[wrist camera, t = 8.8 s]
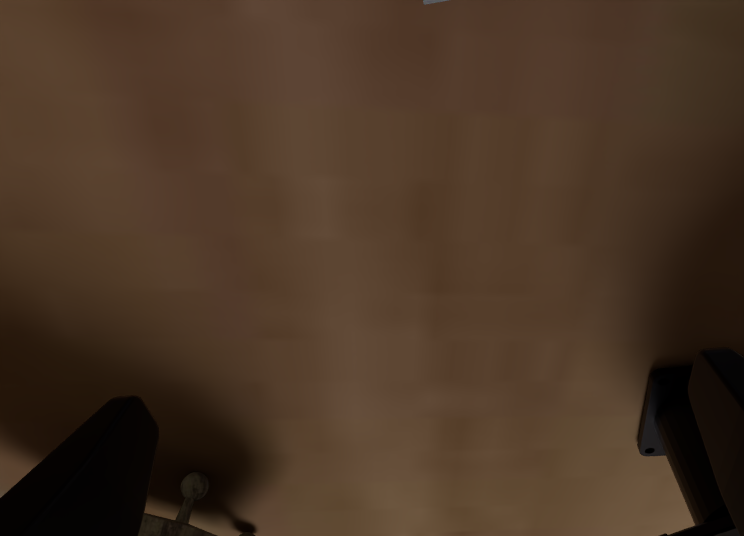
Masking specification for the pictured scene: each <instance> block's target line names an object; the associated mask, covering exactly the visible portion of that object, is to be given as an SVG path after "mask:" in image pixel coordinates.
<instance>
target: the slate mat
mask: <svg viewBox="0 0 744 536" xmlns="http://www.w3.org/2000/svg"><path fill="white" fill-rule="evenodd" d="M442 1H447V0H424V5H425V4H430V3H436V2H442Z"/></svg>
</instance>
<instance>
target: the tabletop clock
mask: <svg viewBox="0 0 744 536" xmlns="http://www.w3.org/2000/svg"><path fill="white" fill-rule="evenodd" d="M208 489H209V481H208V479H207V477H206V476H205V475H204V474H202V473H200V472H193V473H190V474H188V475H187V476H186V477H185V478H184V479H183V481H182V483H181V493H182V494H183V496H184V497H185V500H184V503H183V505H182V507H181V509H180V511H179V513H178V515H177V518H176V520H171V519H167V518H163V517H159V516H155V515H151V514H146V513H144V515H143V520H142V524H141V527H140V531H139V535H138V536H217V535H214V534H212V533H209V532H207V531H204V530H202V529H199V528H197V527H194V526H192V525H190V524H188V523H189V519H190V515H191V511H192V507H193V503H194V501H196V500H199V499H201V498H203V497H204V496H205V495H206V493H207V491H208ZM239 536H255V535H254V534H252V533H249V532H245V533H242V534H240V535H239Z"/></svg>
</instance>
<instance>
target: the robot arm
mask: <svg viewBox="0 0 744 536" xmlns="http://www.w3.org/2000/svg"><path fill="white" fill-rule="evenodd" d="M158 439H159V428H158V425H157V422H156V421H155V419H154V418H153V416H152V415H151V413H150V411H149V410H148V408H147V407H146V405H145V404H144V402H143V401H142V399H141V398H140V397H138V396H136V395H130V396H118V397H114V398H112V399H111V400H109V401H108V402H107V403H106V404H105V405H104V406H103V407H101V408H100V409H99V410H98V411H97V412H96V413H95V414H94V415H93V416H91V417H90V418H89V419H88V420H87V421H86V422H85V423H84V424H82V425H81V426H80V427H79V428H78V429H77V430H76V431H75V432H74V433H72V434H71V435H70V436H69V437H68V438H67V439H66V440H65V441H64V442H62V443H61V444H60V445H59V446H58V447H57V448H56V449H55V450H53V451H52V452H51V453H50V454H49V455H48V456H47V457H46V458H45V459H43V460H42V461H41V462H40V463H39V464H38V465H37V466H36V467H35V468H33V469H32V470H31V471H30V472H29V473H28V474H27V475H26V476H24V477H23V478H22V479H21V480H20V481H19V482H18V483H17V484H16V485H14V486H13V487H12V488H11V489H10V490H9V491H8V492H7V493H6V494H4V495H3V496H2V497H1V498H0V536H138V535H139V531H140V527H141V524H142V520H143V515H144V511H145V506H146V501H147V496H148V491H149V486H150V480H151V475H152V470H153V465H154V460H155V455H156V450H157V444H158ZM637 446H638V449H639V452H640V454H641V455H643V456H663V455H666V457H667V459H668V461H669V464H670V466H671V468H672V471H673V473H674V476H675V478H676V480H677V483H678V485H679V488H680V490H681V492H682V495H683V497H684V499H685V502H686V504H687V507H688V509H689V511H690V514H691V516H692V518H693V521H694V523H695V526H693V527H690V528H687V529H684V530H681V531H678V532H675V533H672V534H670V535H667V534H666V533H665V534H662V535H660V536H744V357H743V356H742V355H740V354H739V353H737V352H736V351H734V350H732V349H730V348H726V347H722V348H709V349H702V350H699V351H698V352H697V354H696V356H695V360H694V364H693V366H686V367H673V368H661V369H657V370H655V371H653V372H652V373H651V375H650V378H649V383H648V389H647V394H646V400H645V405H644V411H643V416H642V422H641V427H640V433H639V438H638V444H637Z"/></svg>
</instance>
